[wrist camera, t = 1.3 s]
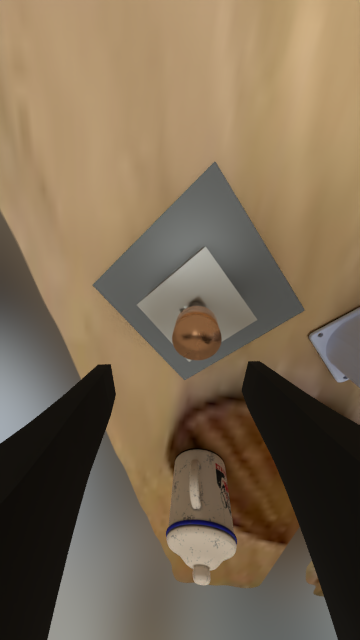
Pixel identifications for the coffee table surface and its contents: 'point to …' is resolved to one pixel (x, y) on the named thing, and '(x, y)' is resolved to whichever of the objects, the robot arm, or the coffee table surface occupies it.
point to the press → (200, 274)
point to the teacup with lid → (201, 513)
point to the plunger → (196, 331)
